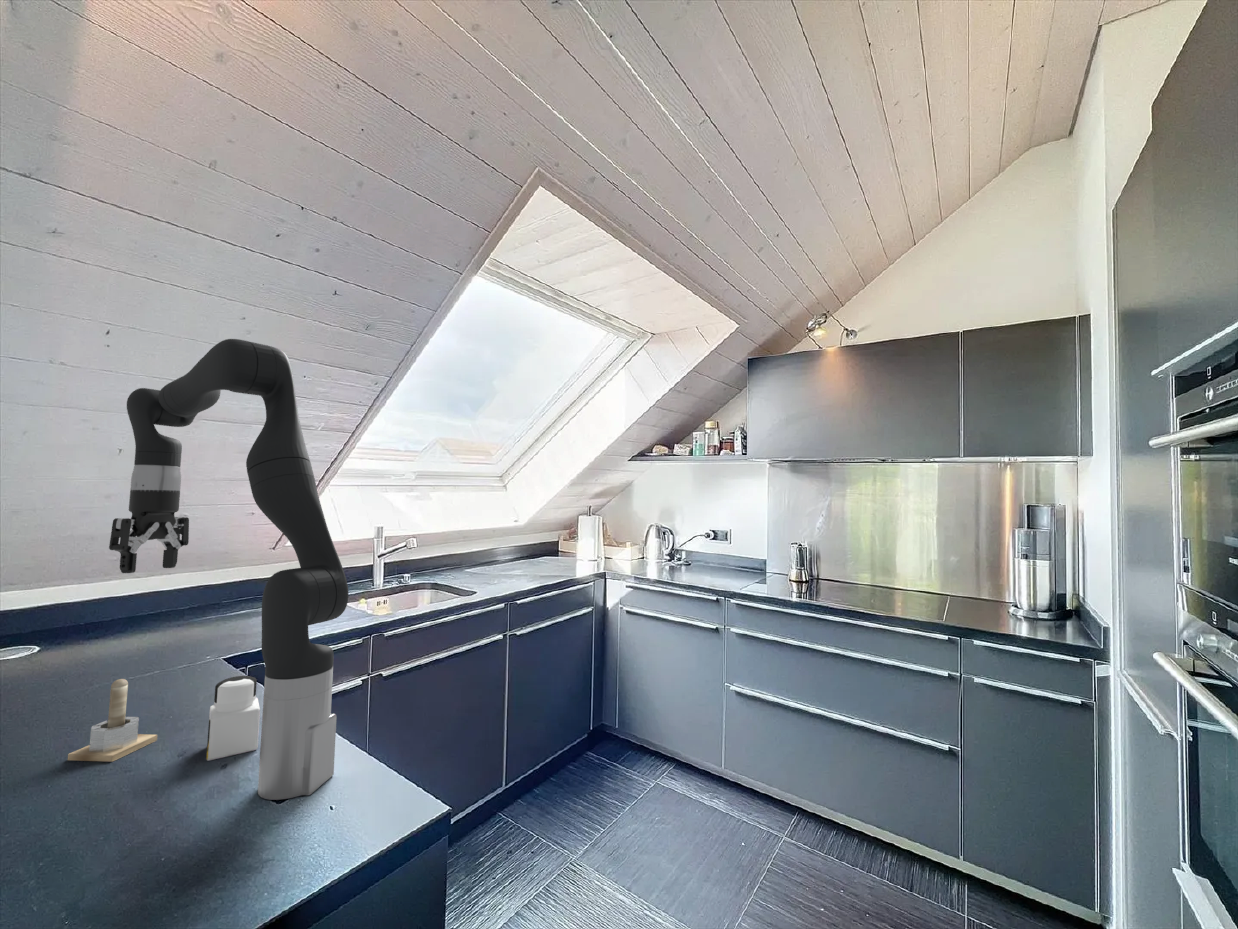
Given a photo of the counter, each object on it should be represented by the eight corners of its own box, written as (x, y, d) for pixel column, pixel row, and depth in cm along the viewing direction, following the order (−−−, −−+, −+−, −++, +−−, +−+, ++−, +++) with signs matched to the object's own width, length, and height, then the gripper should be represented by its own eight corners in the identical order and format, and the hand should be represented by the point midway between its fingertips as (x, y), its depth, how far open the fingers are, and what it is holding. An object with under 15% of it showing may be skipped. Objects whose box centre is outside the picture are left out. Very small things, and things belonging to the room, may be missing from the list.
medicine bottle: (207, 746, 93) (211, 677, 94) (255, 736, 97) (259, 670, 98) (206, 762, 87) (211, 688, 88) (257, 750, 92) (261, 680, 93)
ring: (146, 737, 94) (148, 717, 94) (112, 752, 88) (114, 731, 88) (115, 736, 94) (116, 716, 95) (79, 751, 88) (81, 730, 89)
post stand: (157, 740, 95) (162, 672, 96) (112, 761, 87) (118, 687, 88) (115, 739, 95) (121, 671, 96) (67, 760, 88) (74, 686, 89)
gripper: (139, 487, 97) (132, 575, 96) (203, 490, 111) (198, 566, 110) (101, 487, 97) (93, 574, 96) (170, 489, 112) (164, 566, 110)
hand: (149, 570), depth 103 cm, fingers open, 8 cm apart
